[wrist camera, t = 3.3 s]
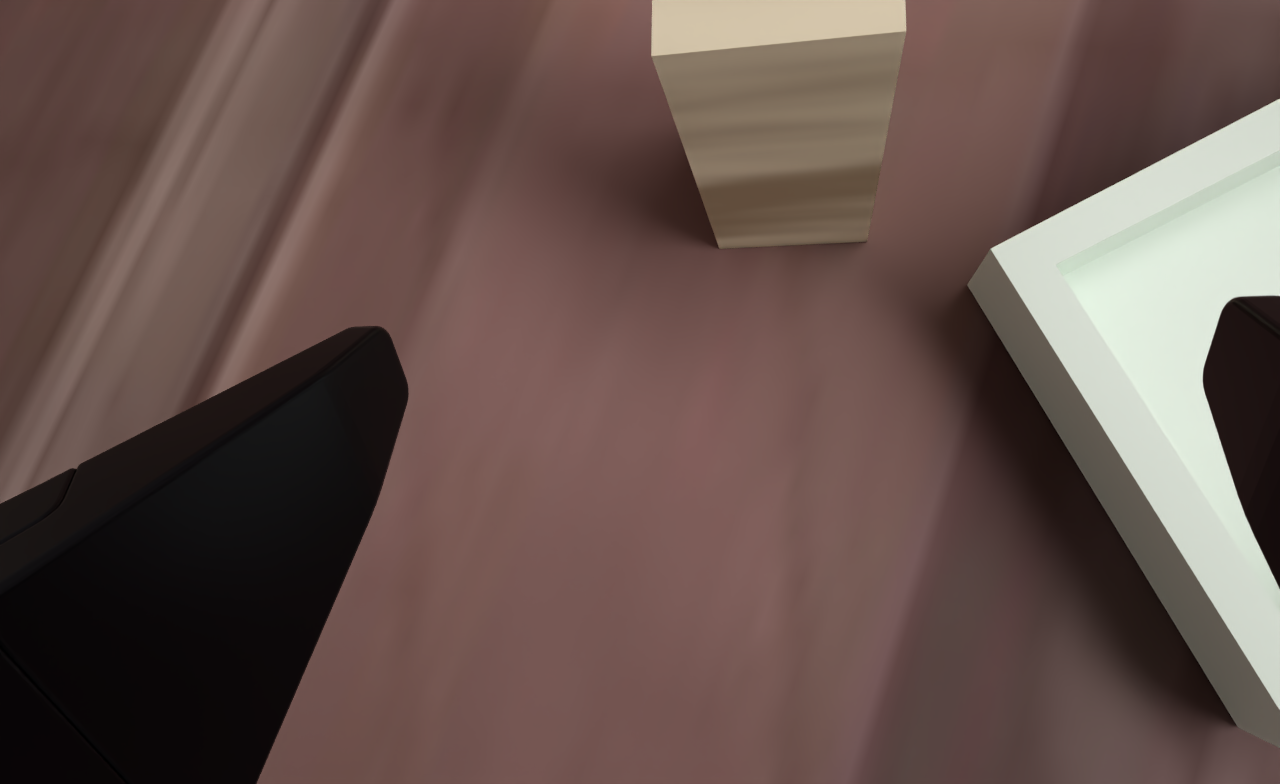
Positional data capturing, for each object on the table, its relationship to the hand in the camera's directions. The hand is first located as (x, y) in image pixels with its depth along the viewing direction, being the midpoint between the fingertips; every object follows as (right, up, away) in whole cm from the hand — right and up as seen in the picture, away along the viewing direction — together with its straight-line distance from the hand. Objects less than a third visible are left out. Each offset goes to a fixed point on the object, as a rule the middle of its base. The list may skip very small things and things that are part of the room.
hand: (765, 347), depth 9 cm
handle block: (+3, +6, +14) cm, 15 cm away
